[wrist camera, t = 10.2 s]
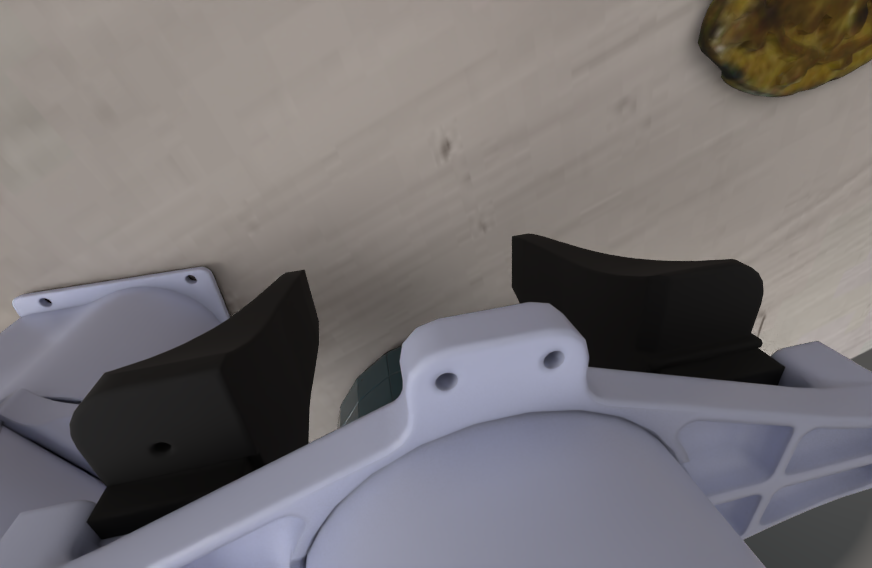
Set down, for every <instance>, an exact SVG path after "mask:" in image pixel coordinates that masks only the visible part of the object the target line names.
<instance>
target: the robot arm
mask: <svg viewBox="0 0 872 568" xmlns="http://www.w3.org/2000/svg"><path fill="white" fill-rule="evenodd" d="M188 275H193V276H195V278H196V279H197V280H196V281H193V280H191V279H189V277H188ZM512 288H513V290H514V292H515V294H516V296H517V298H518V300H519V302H520V304H516V305H510V306H505V307H499V308H494V309H488V310H483V311H477V312H472V313H466V314H461V315H455V316H450V317H445V318H439V319H436V320H433V321H431V322H429V323H426V324H424V325H421V326H419V327H417V328H416V329H415V330H414V331H413V332H412V333H411V334H410V335H409V337H408V338H407V339H406V340H405V341H404V342H403V344H402V349H401V356H400V367H401V373H402V379H403V389H402V392H401V394H400V395H399V397H398V398H397V399H396V400H395V401H393V402H391V403H389V404H387V405H385V406H383V407H381V408H379V409H377V410H375V411H373V412H371V413H369V414H367V415H365V416H363V417H361V418H359V419H357V420H355V421H353V422H351V423H349V424H347V425H345V426H343V427H341V428H339V429H337V430H335V431H333V432H331V433H329V434H327V435H325V436H323V437H321V438H319V439H317V440H315V441H313V442H311V443H309V444H308V437H309V407H310V397H311V391H312V384H313V378H314V372H315V366H316V360H317V353H318V346H319V320H318V317H317V313H316V309H315V306H314V302H313V299H312V295H311V291H310V288H309V284H308V280H307V277H306V273H305V270H300V271H294V272H287V273H285V274H283V275H282V276H280V277H279V278H278V279H277V280H276V281H275V282H273V283H272V284H271V285H270V286H269V287H268V288H267V289H266V290H264V291H263V292H262V293H261V294H260V295H259V296H258V297H256V298H255V299H254V300H253V301H251V302H250V303H249V304H248V305H246V306H245V307H244V308H243V309H241V310H240V311H239V312H237V313H236V314H235V315H233V316H232V317H230V315H229V313H228V310H227V308H226V305H225V303H224V300H223V298H222V295H221V293H220V290H219V288H218V285H217V283H216V280H215V278H214V275H213V273H212V272H211V270H209V269H208V268H206V267H195V268H189V269H182V270H176V271H169V272H163V273H156V274H150V275H143V276H137V277H131V278H124V279H118V280H111V281H105V282H98V283H92V284H85V285H79V286H73V287H66V288H60V289H53V290H47V291H40V292H34V293H27V294H22V295H19V296H18V297H16V298H15V299H14V300H13V302H12V305H13V307H14V309H15V310H16V312H17V313H18V314H19V316H20V317H21V318H19V319H18V320H17V321H15V322H14V323H13V324H11V325H10V326H9V327H7V328H6V329H5V330H4V331H2V332H1V333H0V568H765V566H764V565H763V564H762V563H761V561H760V560H759V559H758V558H757V557H756V555H755V554H754V553H753V552H752V551H751V549H750V548H749V547H748V546H747V545H746V543H745V542H744V541H743V539H746V538H748V537H750V536H752V535H754V534H756V533H759V532H761V531H763V530H765V529H767V528H769V527H772V526H774V525H776V524H778V523H780V522H782V521H785V520H787V519H789V518H792V517H794V516H796V515H799V514H801V513H803V512H805V511H808V510H810V509H812V508H815V507H817V506H820V505H823V504H825V503H828V502H831V501H833V500H836V499H839V498H842V497H844V496H847V495H851V494H854V493H857V492H860V491H864V490H867V489H870V488H872V372H871V371H869V370H867V369H866V368H864V367H862V366H860V365H859V364H857V363H855V362H853V361H852V360H850V359H848V358H847V357H845V356H843V355H842V354H840V353H838V352H836V351H835V350H833V349H831V348H830V347H828V346H826V345H824V344H823V343H821V342H819V341H814V342H809V343H805V344H800V345H795V346H791V347H786V348H782V349H780V350H777V351H776V352H775V353H774V354H772V355H771V357H770V356H769V355H767V354H766V353H764V352H763V351H761V350H760V349H759V347H761V346H762V340H761V339H759V338H758V337H756V336H755V335H753V334H752V333H751V331H752V328H753V326H754V323H755V320H756V317H757V314H758V311H759V308H760V306H761V302H762V297H763V281H762V279H761V277H760V275H759V273H758V272H756V271H755V270H754V269H753V268H751V267H749V266H747V265H745V264H743V263H741V262H739V261H737V260H734V259H726V260H707V261H659V260H646V259H635V258H627V257H621V256H615V255H609V254H604V253H599V252H595V251H591V250H587V249H583V248H580V247H576V246H573V245H569V244H566V243H563V242H559V241H556V240H553V239H550V238H546V237H543V236H539V235H535V234H523V235H517V236H512ZM45 298H47V299H49V300H50V301H51V302H52V303H49V302H47V301H46V300H45Z"/></svg>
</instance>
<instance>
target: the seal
mask: <svg viewBox="0 0 872 568" xmlns="http://www.w3.org/2000/svg"><path fill="white" fill-rule="evenodd" d="M698 44H699V46H700V49H701V51H702V52H703V53H704V54H705V55H706V56H707V57H708V58H710V59H711V60H712V61H713V62H714V63H715V64H716V65H717V66H718V67H719V68H720V69H721V70H722V76H721V77H722V79H723V80H724V81H725V82H726V83H727V84H729V85H730V86H732V87H734V88H736V89H738V90H740V91H743V92H747V93H750V94H754V95H760V96H766V97H780V96H788V95H793V94H795V93H797V92H800V91H805V90H810V89H814V88H816V87H818V86H820V85H823V84H825V83H827V82H829V81H832V80H835V79H838V78H841V77H843V76H845V75H847V74H848V73H850V72H852V71H854V70H855V69H857V68H859V67H860V66H862V65H864V64H865V63H867V62H869V61H870V60H871V59H872V0H713V1H712V3H711V4H710V6H709V8H708V10H707V12H706V15H705V18H704V20H703V23H702V27H701V31H700V35H699V40H698Z"/></svg>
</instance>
